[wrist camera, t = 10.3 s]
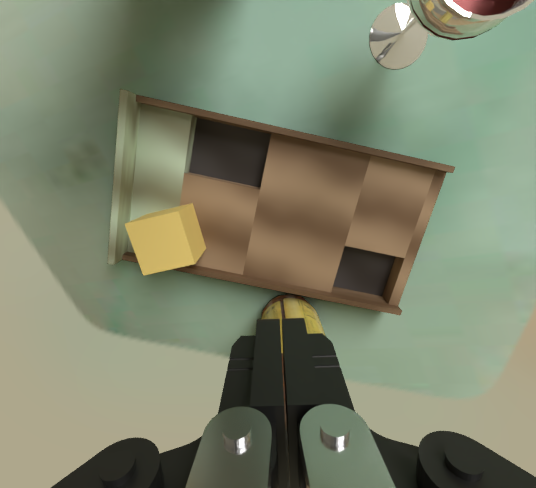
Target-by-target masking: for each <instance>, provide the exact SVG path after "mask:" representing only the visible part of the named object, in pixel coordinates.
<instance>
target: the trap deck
mask: <svg viewBox="0 0 536 488" xmlns="http://www.w3.org/2000/svg"><path fill="white" fill-rule="evenodd" d="M454 169H455V167H453V166H449V165H445V164H440V163H436V162H431V161H427V160H423V159H418V158H414V157H409V156H405V155H400V154H396V153H392V152H387V151H383V150H378V149H374V148H370V147H365V146H361V145H356V144H352V143H347V142H343V141H339V140H334V139H330V138H325V137H321V136H317V135H312V134H308V133H303V132H299V131H294V130H290V129H286V128H281V127H277V126H272V125H268V124H264V123H259V122H255V121H250V120H246V119H241V118H237V117H233V116H228V115H224V114H219V113H215V112H211V111H206V110H202V109H197V108H193V107H188V106H184V105H180V104H175V103H171V102H166V101H162V100H158V99H153V98H149V97H144V96H140V95H136V94H134V93H132V92H130V91H127V90H123V89H120V97H119V110H118V124H117V138H116V152H115V166H114V180H113V193H112V207H111V221H110V235H109V249H108V262H107V264H112V265H115V264H116V263H118V262H119V261H121V260H127V261H132V262H137V263H139V262H138V260H137V257H136V254H135V252H134V249H133V246H132V243H131V241H130V238H129V235H128V232H127V230H126V227H125V223H128V222H130V221H132V220H134V219H137V218H139V217H141V216H143V215H146V214H149V213H153V212H157V211H161V210H166V209H170V208H174V207H178V206H183V205H187V204H191V203H193V206H194V209H195V213H196V216H197V219H198V223H199V226H200V229H201V233H202V236H203V239H204V243H205V246H206V250H205V251H204V252H203V254H202V255H201V257H200V258H199V259H198V261H197V262H196V264H193V265H189V266H184V267H180V268H175V269H171V270H176V271H181V272H186V273H191V274H196V275H201V276H206V277H211V278H216V279H221V280H226V281H231V282H236V283H241V284H246V285H251V286H256V287H261V288H266V289H271V290H276V291H281V292H286V293H291V294H296V295H301V296H306V297H311V298H316V299H321V300H326V301H331V302H336V303H341V304H346V305H351V306H356V307H361V308H366V309H371V310H376V311H381V312H386V313H391V314H396V315H401V312H402V310H401V309H400V308H399V307H398V304H399V302H400V299H401V296H402V293H403V291H404V288H405V285H406V282H407V280H408V277H409V274H410V271H411V269H412V266H413V263H414V260H415V258H416V255H417V252H418V249H419V247H420V244H421V241H422V238H423V236H424V233H425V230H426V227H427V225H428V222H429V219H430V216H431V214H432V211H433V208H434V205H435V203H436V200H437V197H438V194H439V192H440V189H441V186H442V183H443V181H444V178H445V175H446V172H450V173H453V171H454Z"/></svg>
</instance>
